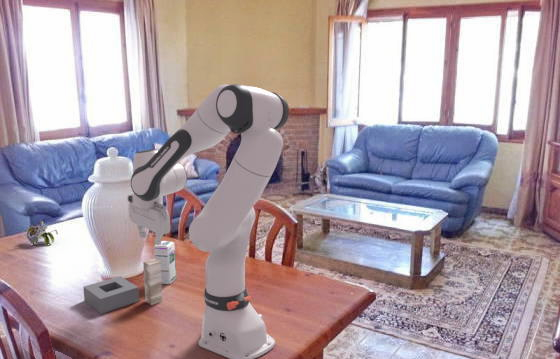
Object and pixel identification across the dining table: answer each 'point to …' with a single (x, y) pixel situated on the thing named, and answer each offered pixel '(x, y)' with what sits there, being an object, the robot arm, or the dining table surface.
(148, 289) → the cream peg
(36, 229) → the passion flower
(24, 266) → the dining table surface
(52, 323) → the dining table surface
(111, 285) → the socket block
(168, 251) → the syrup box
